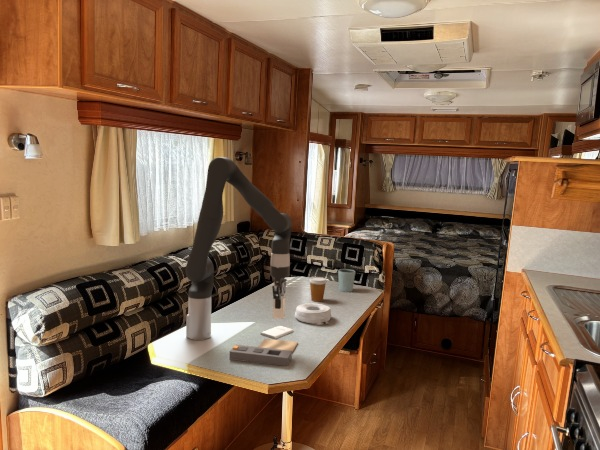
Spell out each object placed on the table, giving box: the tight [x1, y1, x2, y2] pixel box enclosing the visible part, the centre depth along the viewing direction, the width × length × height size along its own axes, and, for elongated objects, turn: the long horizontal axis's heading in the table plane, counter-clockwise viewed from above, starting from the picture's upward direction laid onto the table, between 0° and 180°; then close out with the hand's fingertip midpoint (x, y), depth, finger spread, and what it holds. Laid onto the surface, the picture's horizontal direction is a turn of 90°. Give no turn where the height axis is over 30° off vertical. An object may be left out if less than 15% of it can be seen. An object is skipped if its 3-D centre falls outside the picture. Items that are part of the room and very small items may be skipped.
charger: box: [272, 296, 286, 320], centre depth 183 cm, size 4×4×10 cm
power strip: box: [229, 344, 293, 367], centre depth 171 cm, size 22×7×4 cm, turn 78°
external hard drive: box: [260, 325, 294, 340], centre depth 200 cm, size 2×8×12 cm
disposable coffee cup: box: [308, 276, 327, 303], centre depth 252 cm, size 10×10×12 cm
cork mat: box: [257, 338, 299, 353], centre depth 185 cm, size 14×10×1 cm
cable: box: [294, 302, 332, 326], centre depth 221 cm, size 18×18×6 cm
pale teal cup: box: [337, 268, 356, 293], centre depth 276 cm, size 10×10×12 cm
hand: (279, 306), depth 183 cm, fingers closed on charger, 3 cm apart
